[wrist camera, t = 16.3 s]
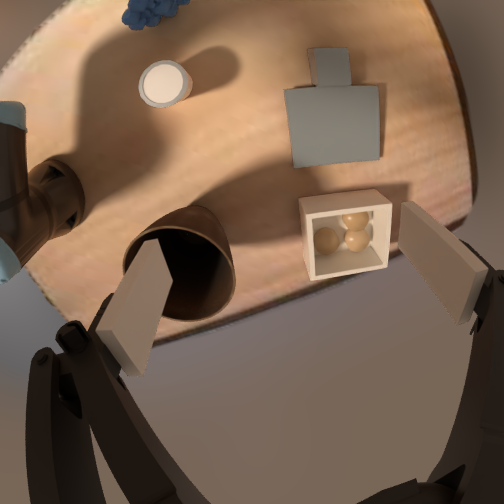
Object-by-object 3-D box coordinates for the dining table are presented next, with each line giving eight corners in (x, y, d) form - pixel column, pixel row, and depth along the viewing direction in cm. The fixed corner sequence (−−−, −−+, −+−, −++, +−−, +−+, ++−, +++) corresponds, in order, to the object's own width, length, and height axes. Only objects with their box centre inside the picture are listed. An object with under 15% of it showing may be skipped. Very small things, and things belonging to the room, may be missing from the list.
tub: (303, 258, 52) (310, 280, 46) (298, 198, 46) (306, 214, 40) (372, 247, 51) (387, 267, 45) (374, 188, 45) (392, 203, 39)
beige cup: (146, 79, 35) (129, 77, 29) (184, 57, 34) (173, 50, 28) (165, 114, 39) (152, 117, 33) (204, 92, 37) (196, 91, 31)
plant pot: (163, 263, 52) (139, 321, 39) (147, 189, 45) (108, 231, 31) (241, 259, 52) (240, 321, 39) (235, 180, 45) (229, 222, 31)
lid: (291, 162, 45) (295, 170, 42) (275, 51, 33) (279, 50, 30) (372, 154, 44) (381, 162, 41) (366, 49, 32) (377, 49, 29)
